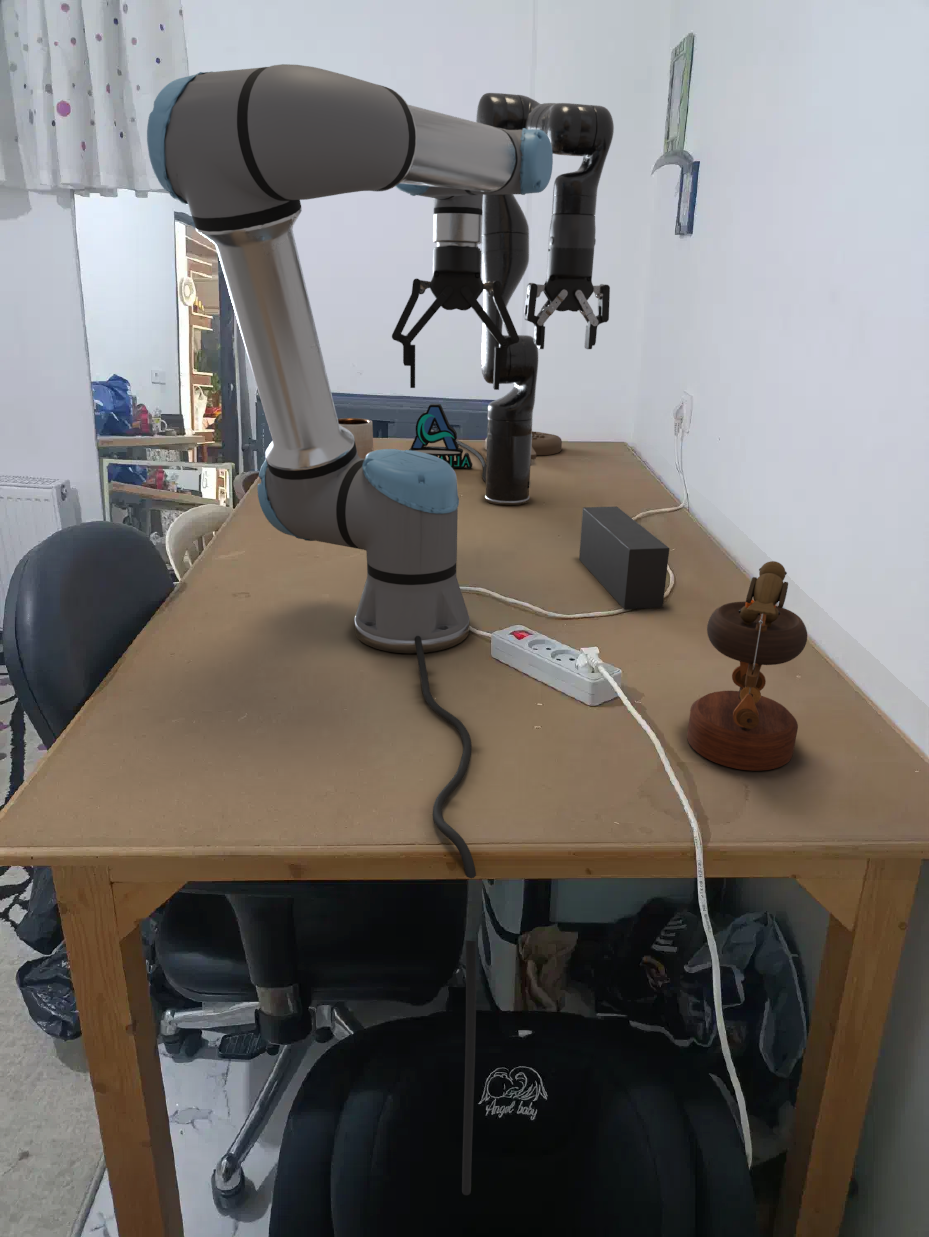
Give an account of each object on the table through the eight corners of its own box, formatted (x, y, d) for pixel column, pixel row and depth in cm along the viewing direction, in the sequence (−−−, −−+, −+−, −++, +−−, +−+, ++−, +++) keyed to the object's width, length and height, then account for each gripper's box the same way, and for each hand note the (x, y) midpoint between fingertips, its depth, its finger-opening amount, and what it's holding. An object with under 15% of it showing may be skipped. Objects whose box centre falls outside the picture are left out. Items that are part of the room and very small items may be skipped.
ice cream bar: (490, 464, 211) (490, 447, 209) (483, 443, 237) (483, 428, 235) (573, 465, 212) (575, 448, 210) (557, 444, 238) (558, 429, 236)
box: (662, 607, 123) (669, 547, 119) (624, 609, 122) (629, 549, 118) (612, 558, 144) (617, 506, 140) (579, 559, 143) (582, 507, 139)
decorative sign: (472, 466, 209) (473, 404, 203) (471, 468, 206) (473, 406, 201) (396, 464, 210) (395, 402, 204) (394, 466, 207) (393, 404, 202)
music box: (815, 783, 80) (835, 585, 73) (696, 783, 82) (704, 589, 74) (778, 707, 94) (791, 534, 87) (677, 708, 96) (682, 538, 88)
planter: (327, 456, 217) (325, 418, 214) (369, 454, 220) (368, 417, 217) (334, 465, 208) (332, 425, 204) (377, 463, 211) (376, 424, 207)
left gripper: (534, 249, 134) (527, 387, 142) (377, 244, 133) (378, 384, 141) (541, 247, 127) (533, 392, 135) (374, 242, 126) (376, 389, 134)
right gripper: (605, 246, 143) (597, 346, 150) (523, 244, 141) (518, 346, 147) (620, 247, 136) (611, 351, 143) (534, 244, 134) (529, 351, 140)
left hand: (454, 388), depth 138 cm, fingers open, 13 cm apart
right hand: (564, 348), depth 145 cm, fingers open, 8 cm apart
